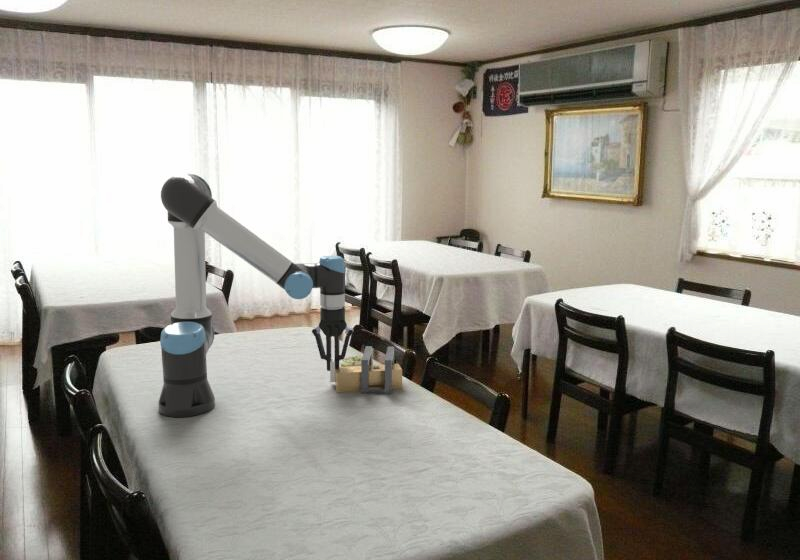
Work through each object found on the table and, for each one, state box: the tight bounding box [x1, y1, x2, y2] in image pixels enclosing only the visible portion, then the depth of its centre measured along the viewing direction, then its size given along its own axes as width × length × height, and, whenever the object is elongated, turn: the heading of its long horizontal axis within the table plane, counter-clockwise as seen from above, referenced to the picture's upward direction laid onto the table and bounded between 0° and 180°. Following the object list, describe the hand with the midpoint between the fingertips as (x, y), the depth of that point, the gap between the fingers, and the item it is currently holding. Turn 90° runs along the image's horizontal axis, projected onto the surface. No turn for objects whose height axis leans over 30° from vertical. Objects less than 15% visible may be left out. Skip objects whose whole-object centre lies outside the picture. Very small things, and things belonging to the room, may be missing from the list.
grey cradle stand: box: [361, 345, 395, 395], centre depth 202 cm, size 14×9×10 cm, turn 178°
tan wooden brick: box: [334, 363, 403, 393], centre depth 201 cm, size 20×6×6 cm, turn 102°
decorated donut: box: [340, 354, 374, 367], centre depth 219 cm, size 10×11×4 cm
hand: (333, 380), depth 203 cm, fingers closed
